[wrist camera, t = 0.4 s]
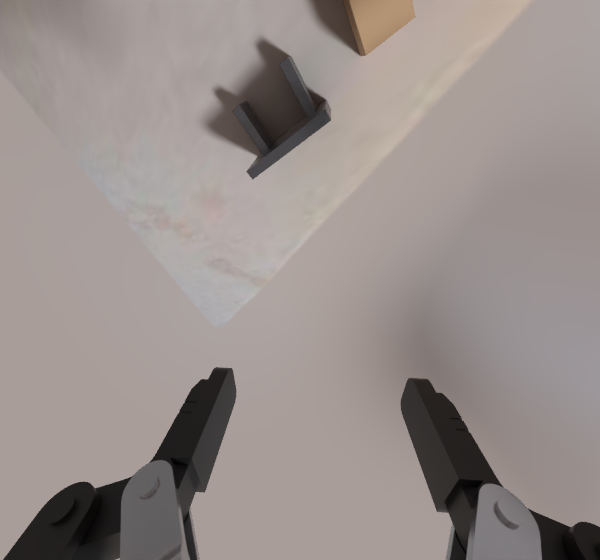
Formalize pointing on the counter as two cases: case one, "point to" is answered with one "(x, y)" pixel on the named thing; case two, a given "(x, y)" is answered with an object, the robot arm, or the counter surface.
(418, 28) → the counter surface
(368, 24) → the rail
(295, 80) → the cup bracket
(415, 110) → the counter surface
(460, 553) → the robot arm
